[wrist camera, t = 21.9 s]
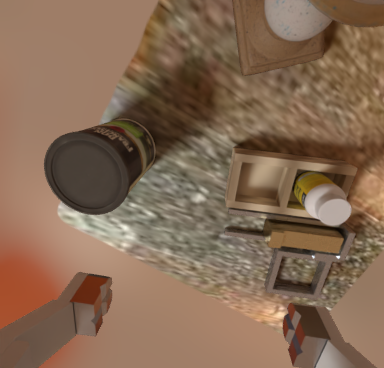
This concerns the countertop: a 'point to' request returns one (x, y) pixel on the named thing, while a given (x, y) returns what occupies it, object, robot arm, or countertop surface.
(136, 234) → the countertop surface
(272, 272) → the socket block
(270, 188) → the box
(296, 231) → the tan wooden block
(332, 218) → the supplement bottle
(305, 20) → the candle holder
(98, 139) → the coffee can
